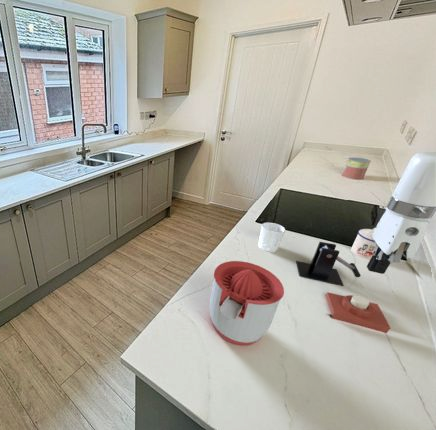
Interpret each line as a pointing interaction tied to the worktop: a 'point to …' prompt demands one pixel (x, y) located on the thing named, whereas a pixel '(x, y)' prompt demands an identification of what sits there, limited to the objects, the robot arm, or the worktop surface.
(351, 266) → the lever
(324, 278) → the bracket
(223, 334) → the citrus juicer
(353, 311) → the button housing
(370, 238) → the teacup with lid
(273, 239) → the white cup
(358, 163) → the canned food
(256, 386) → the worktop surface
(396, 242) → the robot arm
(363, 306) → the button
